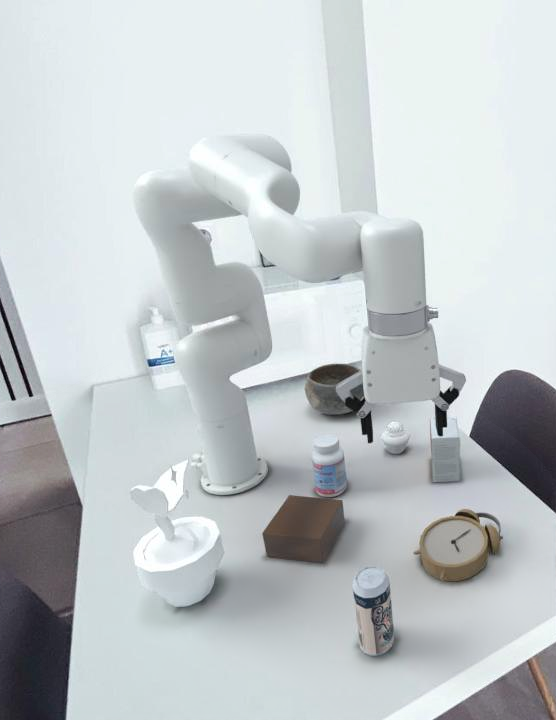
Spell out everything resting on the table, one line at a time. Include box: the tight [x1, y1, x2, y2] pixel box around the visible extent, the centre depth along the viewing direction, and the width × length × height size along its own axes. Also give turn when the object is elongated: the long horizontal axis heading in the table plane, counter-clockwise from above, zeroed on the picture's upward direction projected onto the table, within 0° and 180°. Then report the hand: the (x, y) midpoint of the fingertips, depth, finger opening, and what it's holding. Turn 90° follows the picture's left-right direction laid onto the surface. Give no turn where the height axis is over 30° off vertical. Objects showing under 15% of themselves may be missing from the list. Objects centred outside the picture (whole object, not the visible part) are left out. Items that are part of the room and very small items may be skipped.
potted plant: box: [129, 459, 225, 608], centre depth 79 cm, size 13×12×25 cm
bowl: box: [304, 363, 364, 416], centre depth 134 cm, size 14×15×10 cm
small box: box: [429, 416, 461, 483], centre depth 110 cm, size 8×6×10 cm
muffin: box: [380, 421, 411, 455], centre depth 118 cm, size 6×6×7 cm
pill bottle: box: [311, 433, 348, 498], centre depth 105 cm, size 6×6×11 cm
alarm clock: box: [412, 508, 504, 582], centre depth 90 cm, size 11×5×15 cm
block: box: [261, 494, 346, 564], centre depth 93 cm, size 10×10×5 cm
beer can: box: [352, 565, 395, 657], centre depth 73 cm, size 5×5×12 cm
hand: (405, 434), depth 76 cm, fingers open, 9 cm apart
